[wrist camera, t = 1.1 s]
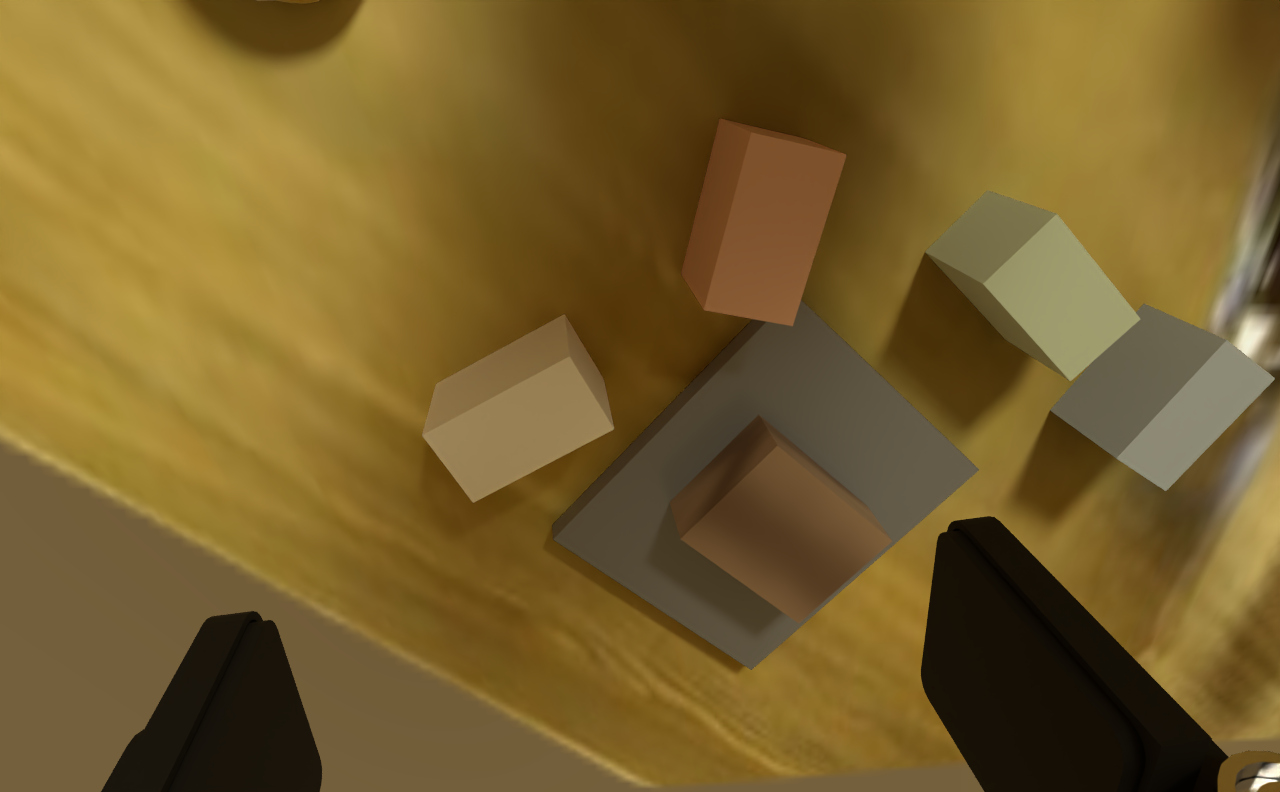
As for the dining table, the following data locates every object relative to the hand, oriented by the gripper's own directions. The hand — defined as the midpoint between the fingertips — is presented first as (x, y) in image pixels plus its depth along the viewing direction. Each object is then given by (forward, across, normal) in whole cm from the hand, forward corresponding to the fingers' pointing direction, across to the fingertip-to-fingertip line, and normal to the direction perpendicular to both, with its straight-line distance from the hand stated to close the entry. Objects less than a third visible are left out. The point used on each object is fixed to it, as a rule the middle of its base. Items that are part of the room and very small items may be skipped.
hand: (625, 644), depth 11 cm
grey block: (+24, -27, +9) cm, 37 cm away
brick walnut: (+22, -9, +13) cm, 28 cm away
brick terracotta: (+24, -8, -1) cm, 25 cm away
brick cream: (+24, +2, +6) cm, 25 cm away
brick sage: (+24, -20, +3) cm, 31 cm away
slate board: (+24, -9, +13) cm, 29 cm away
